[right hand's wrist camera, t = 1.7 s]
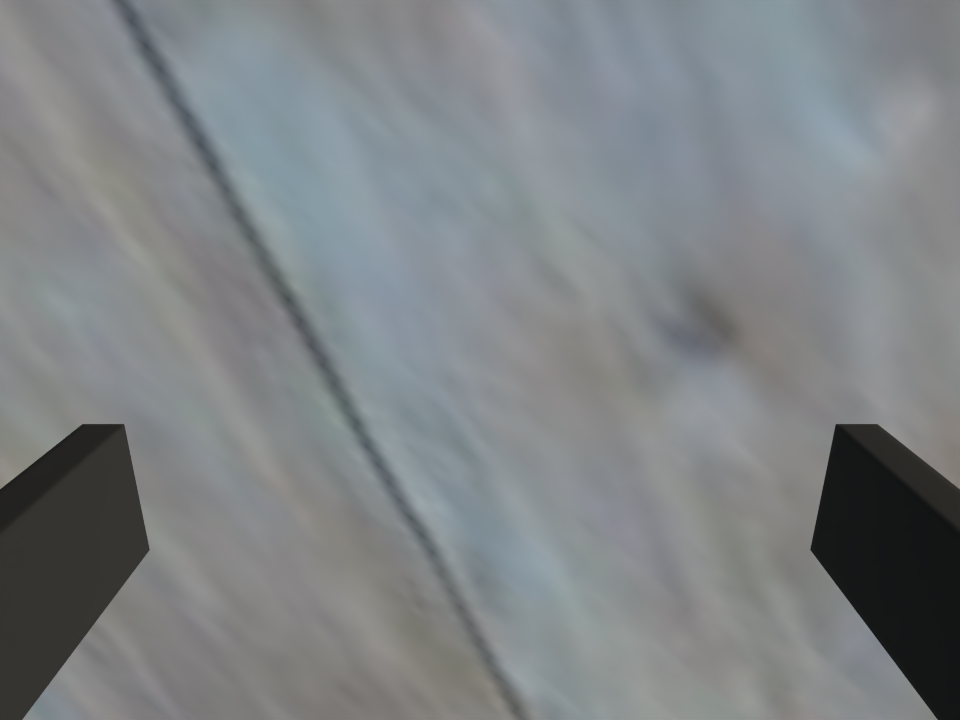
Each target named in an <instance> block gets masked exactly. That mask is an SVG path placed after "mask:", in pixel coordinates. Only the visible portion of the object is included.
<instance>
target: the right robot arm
mask: <svg viewBox="0 0 960 720" xmlns="http://www.w3.org/2000/svg"><path fill="white" fill-rule="evenodd" d="M148 551H149V545H148V540H147V535H146V530H145V525H144V520H143V515H142V510H141V505H140V500H139V495H138V490H137V485H136V481H135V476H134V471H133V466H132V461H131V456H130V451H129V446H128V441H127V436H126V431H125V426H124V424H82V425H81V426H80V427H78V428H77V429H76V430H75V431H73V432H72V433H71V434H70V435H68V436H67V437H66V438H65V439H63V440H62V441H61V442H60V443H58V444H57V445H56V446H55V447H53V448H52V449H51V450H49V451H48V452H47V453H46V454H44V455H43V456H42V457H41V458H39V459H38V460H37V461H36V462H34V463H33V464H32V465H31V466H29V467H28V468H27V469H25V470H24V471H23V472H22V473H20V474H19V475H18V476H17V477H15V478H14V479H13V480H12V481H10V482H9V483H8V484H7V485H5V486H4V487H3V488H1V489H0V720H22V719H23V718H24V716H25V715H26V714H27V712H28V711H29V710H30V708H31V707H32V706H33V704H34V703H35V702H36V701H37V699H38V698H39V697H40V695H41V694H42V693H43V691H44V690H45V689H46V687H47V686H48V685H49V683H50V682H51V681H52V679H53V678H54V677H55V675H56V674H57V673H58V671H59V670H60V669H61V667H62V666H63V665H64V663H65V662H66V661H67V659H68V658H69V657H70V655H71V654H72V653H73V651H74V650H75V649H76V647H77V646H78V645H79V643H80V642H81V641H82V639H83V638H84V637H85V635H86V634H87V633H88V631H89V630H90V629H91V627H92V626H93V625H94V623H95V622H96V621H97V619H98V618H99V617H100V615H101V614H102V613H103V611H104V610H105V609H106V607H107V606H108V605H109V603H110V602H111V601H112V599H113V598H114V597H115V595H116V594H117V593H118V591H119V590H120V589H121V587H122V586H123V585H124V583H125V582H126V581H127V579H128V578H129V577H130V575H131V574H132V573H133V571H134V570H135V569H136V567H137V566H138V565H139V563H140V562H141V561H142V559H143V558H144V557H145V555H146V554H147V553H148ZM811 551H812V553H813V554H814V555H815V557H816V558H817V559H818V561H819V562H820V563H821V565H822V566H823V567H824V569H825V570H826V571H827V573H828V574H829V575H830V577H831V578H832V579H833V581H834V582H835V583H836V585H837V586H838V587H839V589H840V590H841V591H842V593H843V594H844V595H845V597H846V598H847V599H848V601H849V602H850V603H851V605H852V606H853V607H854V609H855V610H856V611H857V613H858V614H859V615H860V617H861V618H862V619H863V621H864V622H865V623H866V625H867V626H868V627H869V629H870V630H871V631H872V633H873V634H874V635H875V637H876V638H877V639H878V641H879V642H880V643H881V645H882V646H883V647H884V649H885V650H886V651H887V653H888V654H889V655H890V657H891V658H892V659H893V661H894V662H895V663H896V665H897V666H898V667H899V669H900V670H901V671H902V673H903V674H904V675H905V677H906V678H907V679H908V681H909V682H910V683H911V685H912V686H913V687H914V689H915V690H916V691H917V693H918V694H919V695H920V697H921V698H922V699H923V701H924V702H925V703H926V705H927V706H928V707H929V709H930V710H931V711H932V712H933V714H934V715H935V716H936V718H937V719H938V720H960V489H959V488H957V487H956V486H955V485H953V484H952V483H951V482H950V481H948V480H947V479H946V478H945V477H943V476H942V475H941V474H940V473H938V472H937V471H936V470H935V469H933V468H932V467H931V466H929V465H928V464H927V463H926V462H924V461H923V460H922V459H921V458H919V457H918V456H917V455H916V454H914V453H913V452H912V451H911V450H909V449H908V448H907V447H905V446H904V445H903V444H902V443H900V442H899V441H898V440H897V439H895V438H894V437H893V436H892V435H890V434H889V433H888V432H887V431H885V430H884V429H883V428H882V427H880V426H879V425H878V424H836V426H835V431H834V436H833V441H832V446H831V451H830V456H829V461H828V466H827V471H826V476H825V481H824V485H823V490H822V495H821V500H820V505H819V510H818V515H817V520H816V525H815V530H814V535H813V540H812V545H811Z"/></svg>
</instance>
